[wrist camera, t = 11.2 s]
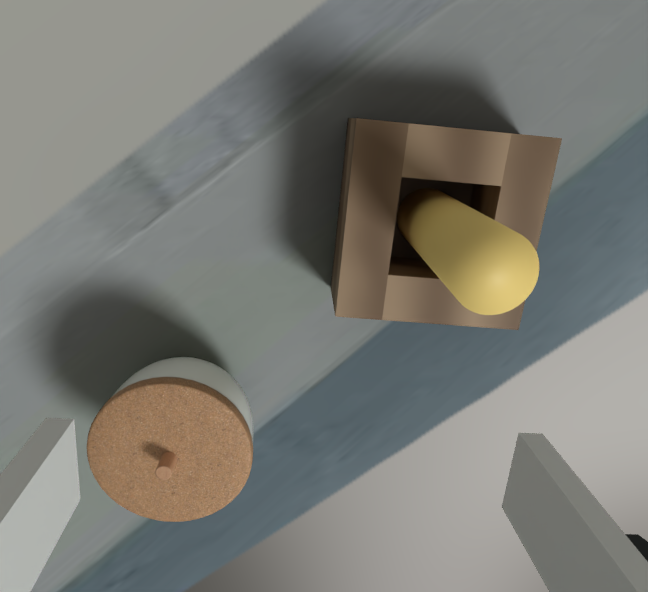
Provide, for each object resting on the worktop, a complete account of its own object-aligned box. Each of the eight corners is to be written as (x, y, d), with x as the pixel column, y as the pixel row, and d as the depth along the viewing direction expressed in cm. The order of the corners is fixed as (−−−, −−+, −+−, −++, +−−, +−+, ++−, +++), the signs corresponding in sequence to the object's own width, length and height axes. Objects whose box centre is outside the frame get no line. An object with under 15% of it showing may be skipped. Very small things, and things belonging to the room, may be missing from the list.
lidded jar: (121, 446, 43) (73, 532, 34) (127, 326, 39) (76, 386, 31) (252, 461, 44) (239, 549, 35) (269, 345, 40) (259, 408, 32)
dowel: (393, 242, 37) (443, 312, 24) (400, 185, 36) (458, 225, 23) (448, 247, 37) (528, 317, 24) (458, 190, 36) (548, 232, 23)
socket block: (330, 287, 39) (335, 316, 33) (347, 118, 35) (356, 118, 30) (487, 299, 40) (518, 329, 34) (521, 135, 36) (561, 138, 30)
